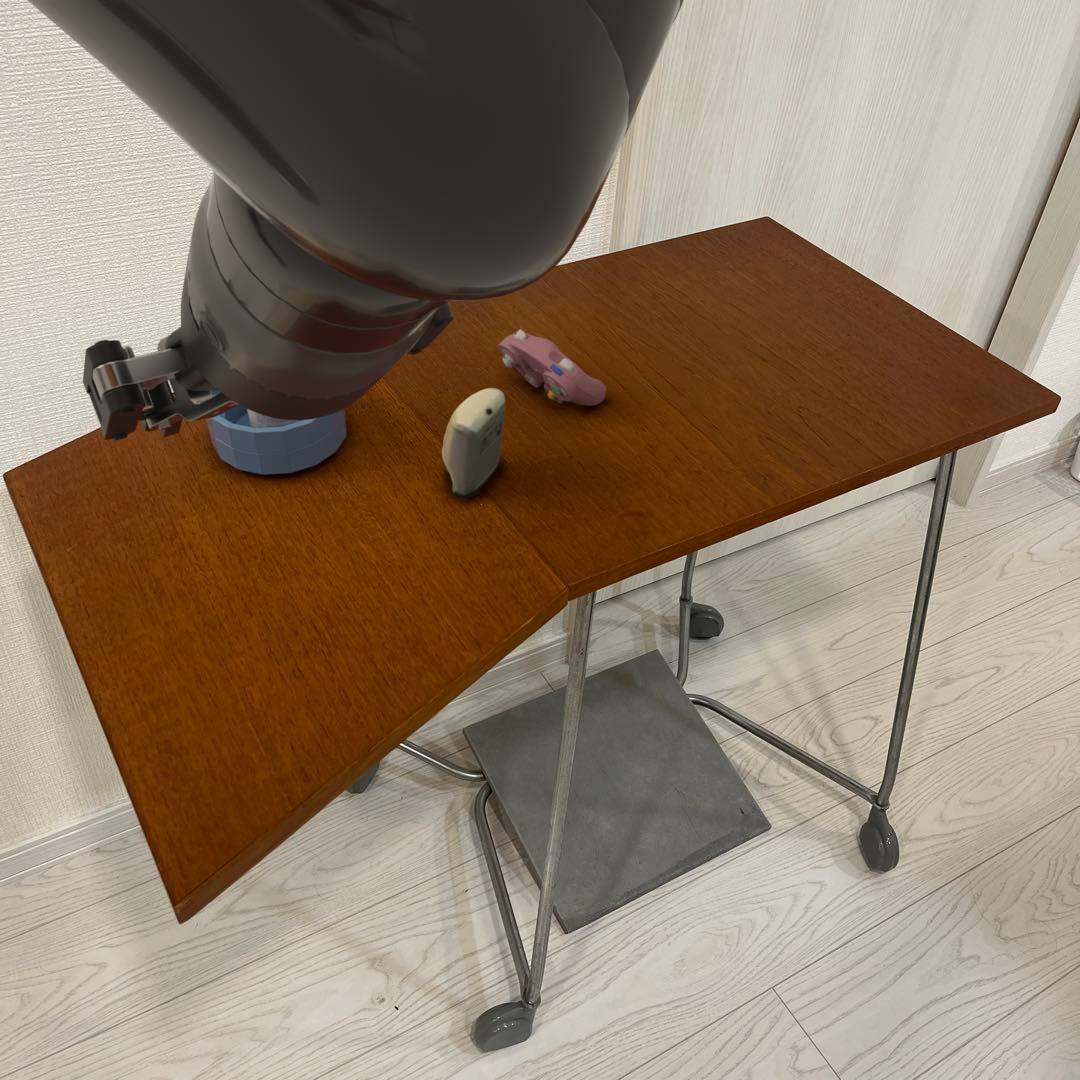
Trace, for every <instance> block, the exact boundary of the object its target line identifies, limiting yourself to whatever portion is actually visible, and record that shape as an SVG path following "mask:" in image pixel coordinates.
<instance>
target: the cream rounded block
mask: <svg viewBox="0 0 1080 1080" xmlns="http://www.w3.org/2000/svg"><path fill="white" fill-rule="evenodd" d="M506 405H507V401H506V396H505V393H504V391H502V390H501V389H500V388H499V389H498V388H496V387H488V388H483V389H481V390H479V391H476V392H475V393H472V394H471V395H470V396H469V397H467V398H466V399H465V400H463V401H462V402H461V403H460V404H459V405H458V406H457V407H456V409H454V412H453V413H452V415H451V416H450V419H449V421H448V423H447V426H446V430H445V433H444V435H443V442H442V443H443V444H442V449H441V457H442V461H443V464H444V466H445V468H446V470H447V472H448V473H449V475H450V480H451V482H452V488H451V489H452V493H453V495H456V496H457V497H458V498H462V499H465V500H467V499H471V498H473V497H475V496H478V493H479V492H481V489H482V488H483V487H484V486H485V485H486V484H487V483H488V481H489V480H490V479H491V478H492V477H493V476H494V474H495V473H496V472H497V470H498V468H499V463H500V460H501V448H502V439H503V433H504V425H505V424H504V423H505V414H506V413H505V412H506Z"/></svg>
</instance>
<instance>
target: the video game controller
mask: <svg viewBox="0 0 1080 1080" xmlns="http://www.w3.org/2000/svg"><path fill="white" fill-rule="evenodd" d="M497 347H498V350H499V353H500V354H501V355H502V363H503V365H504V366H505V367H507V368H509V369H513V368H515V369H516V370H517V371H518V372H519V373H520V374H521V375H522V377H523V378H524V379H525V380H526V382H528V383H529V384H530V385H531V386H533V387H534V388H537V389H538V388H539V387H541V385H542V384H543V383H544V384H543V389H544V391H545V392H546V394H547V397H548V398H549V399H550V400H551V401H555V402H557V403H558V404H560V405H561V404H563V403H564V402H571V403H574V404H577V405H581V406H586V407H593V406H597V405H599V404H601V403H602V402H603V401H604V400H605V398H606V396H607V395H606V394H607V386H606V384H604V382H602V381H601V380H600V379H597V378H594V377H592V376H590V375H588V374H587V373H585V371H584V370H582V368H581V367H580V366H578V364H576V363H575V362H574V361H573V360H572V359H570V358H569V357H568V356H566V355H565V354H564V353H563V352H562V351H561V350H560V349H559V347H558V346H557V345H556V344H555V342H553V341H552V340H550V339H547V338H544V337H540V336H535V335H532V334H531V333H528V332H525V331H524V330H523V329H519V330H518V331H515V332H513V333H510V334H509V335H508V336H506V337H505V338H503V340H502V341H501V342H500V343H499V344H498V345H497Z"/></svg>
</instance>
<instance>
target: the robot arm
mask: <svg viewBox="0 0 1080 1080" xmlns="http://www.w3.org/2000/svg"><path fill="white" fill-rule="evenodd" d="M684 1H685V0H27V2H28V3H30V4H31V5H32V6H33V7H35V8H36V9H37V10H38V11H39V12H41V13H42V14H43V15H44V16H45V17H46V18H47V19H48V20H50V21H51V22H52V23H53V24H54V25H56V26H57V27H58V28H59V29H61V30H62V31H63V32H64V33H65V34H66V35H68V36H69V37H70V38H71V39H72V40H73V41H75V43H77V44H78V45H79V46H80V47H81V48H82V49H84V50H85V51H86V52H87V53H89V54H90V56H92V57H93V58H94V59H95V60H97V61H98V63H100V64H101V65H102V66H103V67H104V68H106V69H107V71H109V72H110V73H111V74H112V75H113V76H114V77H116V79H118V80H119V81H120V82H121V84H123V85H124V86H125V87H126V88H127V89H128V90H129V91H130V92H131V93H132V94H133V95H135V96H136V97H137V99H139V100H140V101H141V102H142V103H143V104H144V105H145V106H146V107H148V108H149V110H151V111H152V112H153V113H154V114H155V115H156V116H157V117H158V118H159V119H160V120H161V121H162V122H163V123H164V124H165V125H166V126H167V128H169V129H170V131H172V132H173V133H174V134H175V135H176V136H177V137H178V138H179V139H180V140H181V141H182V142H183V143H184V144H185V145H186V146H187V147H188V148H189V149H190V150H192V152H193V153H194V154H196V156H198V158H199V159H201V161H202V162H203V163H205V164H206V165H207V166H208V167H209V168H210V169H211V170H212V175H211V179H210V183H209V184H208V186H207V188H206V190H205V192H204V194H203V196H202V198H201V200H200V203H199V206H198V208H197V212H196V214H195V218H194V222H193V226H192V232H191V238H190V242H189V250H188V253H187V254H188V255H187V262H186V267H185V273H184V279H183V286H182V290H181V298H180V299H181V300H180V327H178V328H177V329H175V330H174V331H172V332H171V333H170V334H168V335H166V336H165V337H163V338H162V339H160V340H159V341H158V343H157V347H156V349H157V351H154V352H150V353H145V354H141V355H139V356H138V355H137V356H135V353H134V350H133V347H132V346H130V345H126V346H125V345H124V346H123V345H122V343H121V341H120V340H116V339H113V340H109V339H103V340H98V341H96V342H95V343H94V344H93V345H91V346H89V347H87V348H86V349H85V353H84V354H85V355H84V364H83V365H84V366H83V375H82V383H83V387H84V388H85V393H86V394H88V396H89V399H90V401H91V403H92V407H93V409H94V411H95V414H96V417H97V419H98V422H99V425H100V431H101V434H102V436H103V439H104V440H106V441H107V440H108V441H111V440H114V441H121V440H125V439H127V438H128V435H131V434H132V433H134V432H135V431H136V429H137V426H138V424H139V422H141V424H142V427H143V430H144V431H145V432H147V433H148V432H153V431H157V430H159V431H160V433H161V435H162V438H166V437H170V436H174V435H177V434H180V431H181V427H182V424H183V420H185V421H186V422H193V421H201V420H206V419H208V418H214V417H216V416H218V415H220V414H222V413H224V412H226V411H228V410H230V409H232V408H235V407H237V406H239V405H241V406H243V407H245V408H247V409H249V410H251V411H253V412H256V413H258V414H261V415H264V416H268V417H272V418H277V419H284V420H309V419H316V418H321V417H325V416H328V415H331V414H334V413H336V412H338V411H341V410H343V409H345V410H346V408H349V407H350V406H352V405H353V404H355V403H356V402H357V401H358V400H360V399H361V398H362V397H363V396H365V394H367V393H368V392H369V391H370V390H371V389H372V388H373V387H374V386H375V385H376V384H378V382H379V381H380V380H381V379H382V378H383V377H385V376H386V375H387V374H388V373H389V371H391V369H392V368H394V367H395V365H397V364H398V363H399V362H400V361H401V360H402V359H403V358H405V356H407V355H411V356H415V355H418V354H421V353H422V352H423V350H425V349H426V348H428V347H429V346H430V345H431V344H432V343H433V342H434V341H435V339H437V338H438V336H439V335H441V333H442V332H443V331H444V330H445V329H446V328H447V326H449V325H450V324H451V322H453V320H454V319H455V316H454V314H453V310H452V309H451V305H450V302H455V303H456V302H457V303H460V302H461V303H468V302H476V301H481V300H486V299H492V298H493V299H494V298H498V297H504V296H507V295H509V294H512V293H515V292H518V291H520V290H522V289H525V288H527V287H529V286H531V285H532V284H535V283H536V282H538V281H539V280H540V279H541V278H543V277H544V276H545V275H546V274H548V273H549V272H551V270H553V269H554V268H555V267H557V266H558V265H559V263H560V262H561V261H562V260H563V259H564V258H565V257H566V255H567V254H568V253H570V251H571V249H572V248H573V246H574V244H575V243H576V241H577V239H578V238H579V236H580V235H581V233H582V231H583V230H584V228H585V226H586V225H587V224H588V221H589V219H590V217H591V215H592V213H593V210H594V209H595V206H596V205H597V202H598V200H599V197H600V195H601V193H602V191H603V190H604V187H605V185H606V182H607V180H608V177H609V175H610V173H611V170H612V169H613V166H614V163H615V161H616V158H617V156H618V154H619V151H620V150H621V147H622V145H623V142H624V139H625V137H626V136H627V133H628V130H629V128H630V126H631V124H632V121H633V118H634V116H635V114H636V112H637V109H638V106H639V104H640V103H641V100H642V98H643V94H644V92H645V90H646V87H647V86H648V83H649V82H650V81H649V80H650V78H651V76H652V74H653V71H654V69H655V66H656V64H657V63H658V60H659V57H660V55H661V53H662V50H663V48H664V46H665V43H666V40H667V38H668V36H669V34H670V31H671V29H672V26H673V24H674V23H675V21H676V19H677V17H678V16H679V13H680V10H681V9H682V6H683V4H684ZM211 391H221V392H220V393H218V394H216V395H214V396H213V395H212V393H211Z"/></svg>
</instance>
